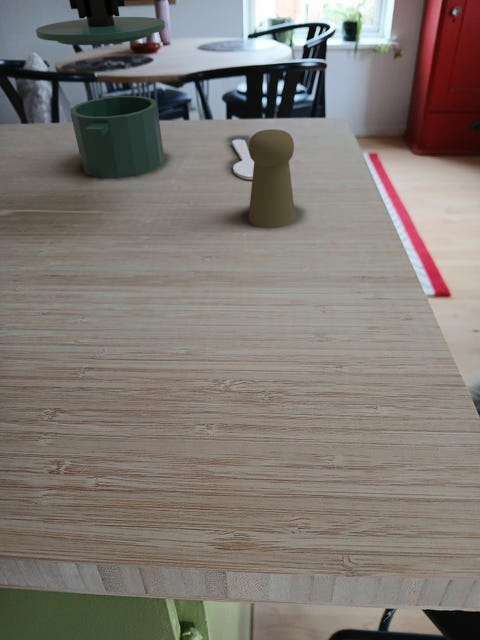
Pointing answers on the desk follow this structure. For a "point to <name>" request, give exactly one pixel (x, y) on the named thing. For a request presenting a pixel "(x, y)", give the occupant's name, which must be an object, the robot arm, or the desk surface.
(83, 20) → the pot lid
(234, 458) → the desk surface
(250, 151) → the pepper mill
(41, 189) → the desk surface
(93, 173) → the cooker pot
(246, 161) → the spoon
